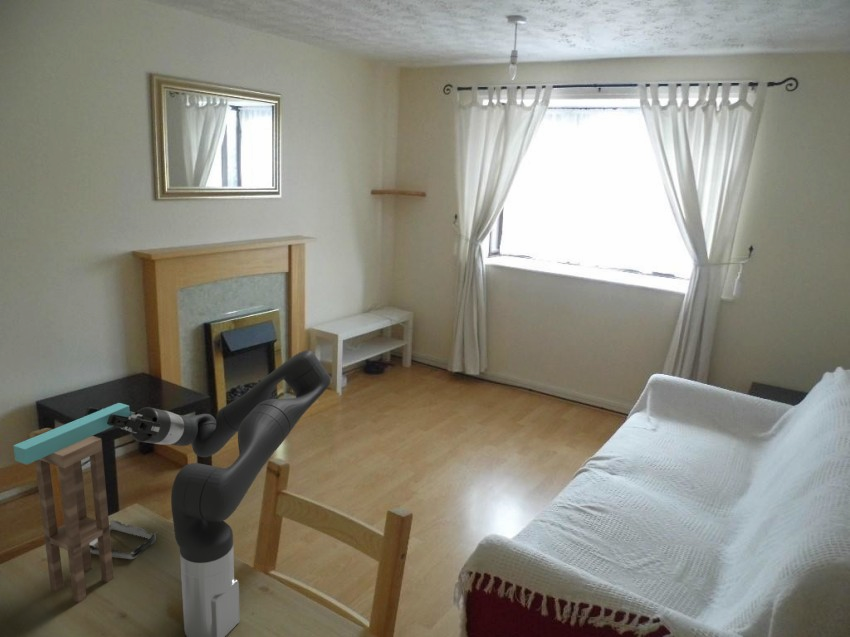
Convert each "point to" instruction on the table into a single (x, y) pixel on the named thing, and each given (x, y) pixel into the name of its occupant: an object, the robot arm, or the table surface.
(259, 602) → the table surface
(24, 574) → the table surface
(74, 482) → the walnut stand
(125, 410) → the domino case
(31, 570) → the table surface
